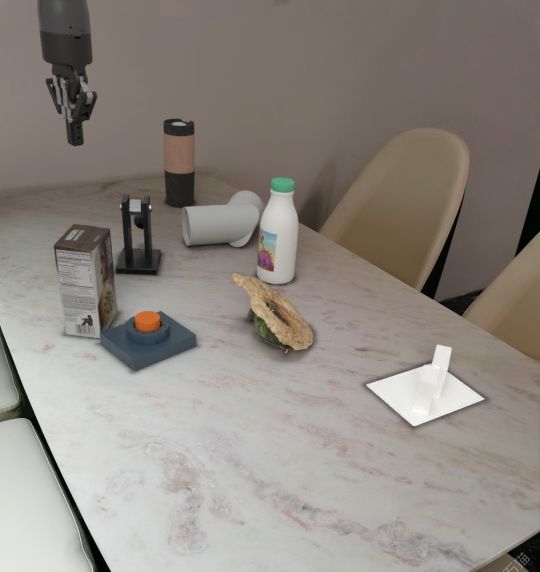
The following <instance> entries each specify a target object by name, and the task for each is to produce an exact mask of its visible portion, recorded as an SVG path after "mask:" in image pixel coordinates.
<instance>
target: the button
mask: <svg viewBox="0 0 540 572" xmlns="http://www.w3.org/2000/svg"><path fill="white" fill-rule="evenodd" d="M134 316H135V328H136V329H137V330H140V331H144V332H146V331H154V330H157V329H159V328H160V315H159V314H158V313H156V311H153V310H142V311H139V312H137V313H136V314H135V315H134Z"/></svg>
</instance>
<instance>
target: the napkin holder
mask: <svg viewBox="0 0 540 572" xmlns="http://www.w3.org/2000/svg"><path fill="white" fill-rule="evenodd" d="M452 351H453V347H451V346H446V345H443V344H442V345H441V344H436V347H435V350H434V354H433V358H432V362H431V363H429V364H423V365H422V366H419V367H417V368H413V369H410V370H407V371H404V372H401V373H398V374H395V375H391V376H389V377H385V378H382V379H380V380H377V381H373V382H370V383H367V384H365V386H366V387H367V388H368V389H370V390H371V391H372V392H373V393H374V394H376V396H378V397H379V398H380V399H381V400H382V401H383V402H385V403H386V404H387V405H388V406H389V407H391V408H392V410H394V411H395V412H396V413H398V415H400V416H401V417H402V418H403V419H404V420H406V421H407V422H408V424H410V425H411V426H413V427H417V426H419V425H422V424H424V423H427V422H430V421H432V420H435V419H437V418H440V417H443V416H446V415H448V414H450V413H453V412H456V411H459V410H461V409H463V408H467V407H468V406H471V405H474V404H477V403H479V402H481V401H484V400H485V398H484V397H483V396H481V395H480V394H479V393H477V392H476V391H475V390H473V389H472V388H470V387H469V386H468V385H466V384H465V383H464V382H462V380H459V379H458V378H457V377H456V376H454V375H453V374H451V373H450V372H448V370H449V365H450V359H451V355H452Z"/></svg>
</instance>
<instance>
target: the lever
mask: <svg viewBox="0 0 540 572" xmlns="http://www.w3.org/2000/svg"><path fill="white" fill-rule="evenodd" d="M142 202H143V200H142V199H133V198H130V206H129V211H130V215H131V216H134V217H133V224H134V226H135V227H136V228H137V229H139V230H144V227H143V207H142Z"/></svg>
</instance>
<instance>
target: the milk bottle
mask: <svg viewBox="0 0 540 572" xmlns="http://www.w3.org/2000/svg"><path fill="white" fill-rule="evenodd" d="M269 188H270V190H269V191H270V197H269V200H268V202H267V204H266V206H265V208H264V211H263V214H262V217H261V219H260V221H259V222H260V223H259V232H258V245H257V259H256V260H257V261H256V276H257V279H260V280H261V281H263V282H265V283H266V284H272V285H283V284H288V283H290V282H291V281H292V280H293V278H294V276H295V269H296V258H297V249H298V240H299V239H298V238H299V216H298V213H297V210H296V206H295V204H294V197H293V196H294V194H295V188H296V181H295V180H294V179H292V178H289V177H281V176H280V177H279V176H278V177H273V178H272V179H271V180H270V187H269Z"/></svg>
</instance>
